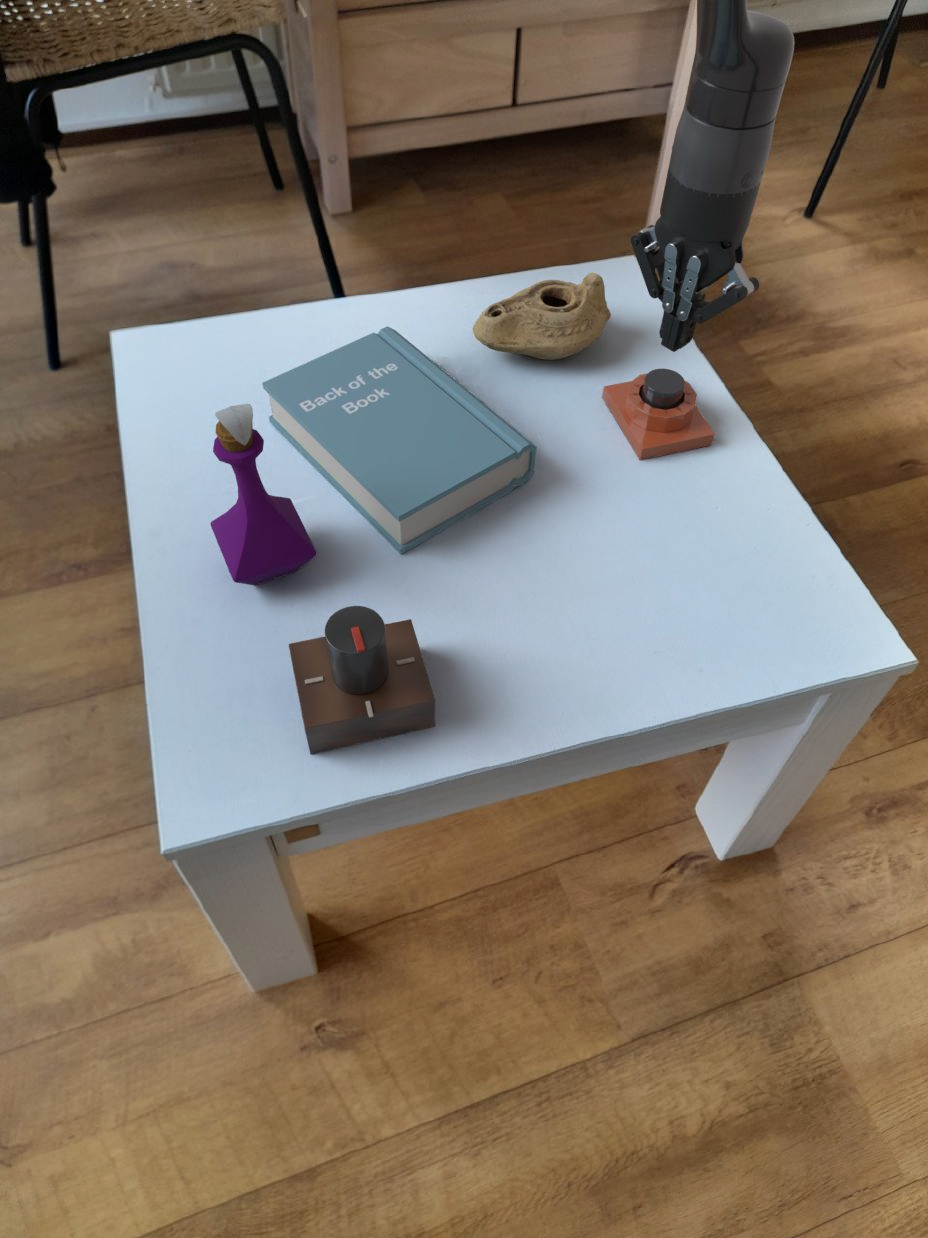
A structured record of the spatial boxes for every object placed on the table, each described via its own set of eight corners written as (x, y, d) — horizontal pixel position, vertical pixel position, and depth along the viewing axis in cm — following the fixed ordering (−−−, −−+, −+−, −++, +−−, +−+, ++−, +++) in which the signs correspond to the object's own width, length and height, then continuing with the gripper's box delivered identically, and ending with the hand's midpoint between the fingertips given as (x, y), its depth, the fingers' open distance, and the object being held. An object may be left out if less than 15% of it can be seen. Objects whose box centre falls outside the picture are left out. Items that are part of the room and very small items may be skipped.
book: (269, 421, 95) (262, 382, 91) (396, 362, 101) (394, 322, 97) (400, 554, 84) (398, 516, 80) (533, 478, 91) (537, 439, 87)
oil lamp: (456, 341, 103) (457, 277, 97) (566, 302, 108) (574, 239, 102) (509, 397, 98) (513, 333, 91) (622, 353, 103) (634, 289, 96)
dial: (326, 655, 73) (318, 610, 68) (380, 642, 74) (376, 597, 69) (338, 700, 70) (331, 657, 66) (394, 687, 71) (391, 643, 66)
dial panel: (411, 644, 78) (410, 614, 75) (436, 729, 73) (436, 702, 70) (294, 668, 77) (287, 639, 73) (311, 758, 72) (304, 731, 68)
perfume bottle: (216, 546, 85) (170, 389, 70) (294, 522, 87) (265, 364, 72) (240, 605, 81) (196, 451, 66) (321, 578, 83) (296, 423, 68)
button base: (711, 445, 94) (720, 418, 91) (639, 460, 92) (645, 433, 90) (670, 384, 100) (676, 357, 97) (601, 397, 98) (606, 370, 95)
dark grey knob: (687, 406, 93) (692, 389, 91) (651, 413, 92) (654, 397, 90) (670, 381, 95) (674, 365, 94) (635, 388, 94) (638, 371, 93)
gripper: (812, 181, 74) (753, 360, 87) (680, 121, 79) (644, 299, 93) (757, 215, 70) (704, 396, 84) (623, 150, 76) (595, 330, 90)
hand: (673, 344), depth 89 cm, fingers closed
